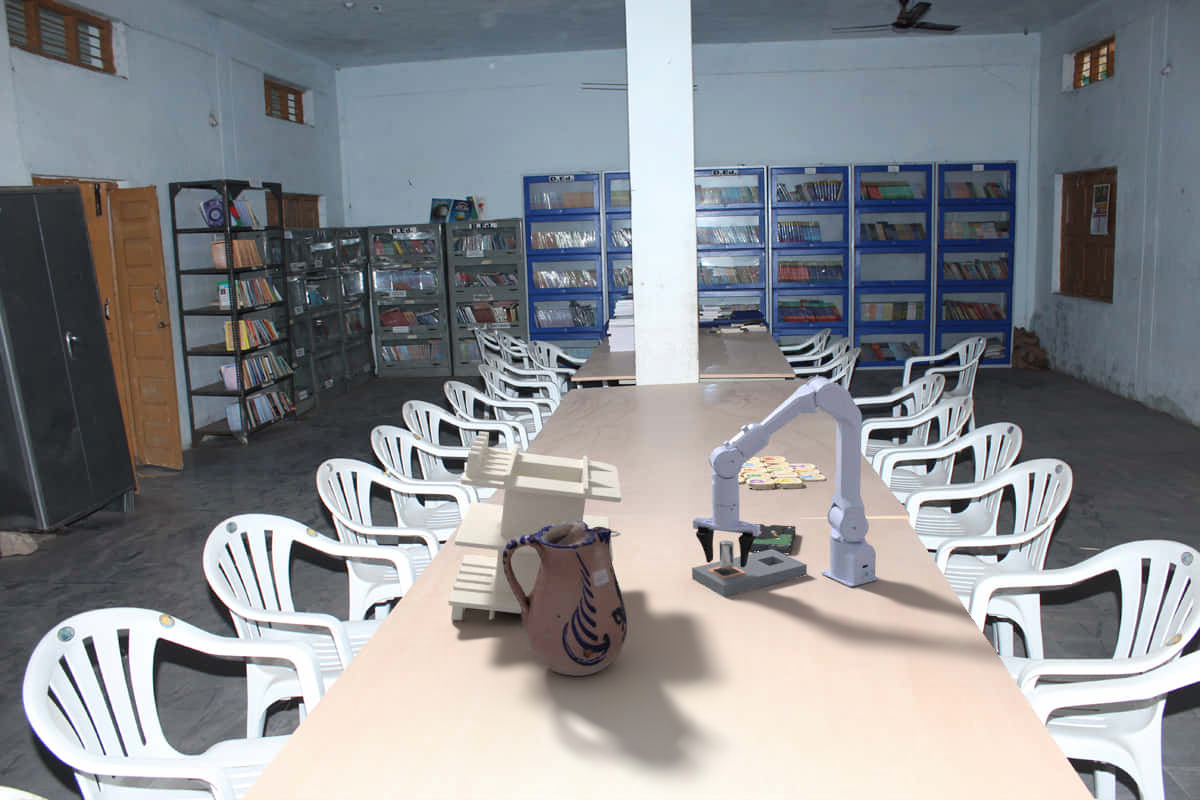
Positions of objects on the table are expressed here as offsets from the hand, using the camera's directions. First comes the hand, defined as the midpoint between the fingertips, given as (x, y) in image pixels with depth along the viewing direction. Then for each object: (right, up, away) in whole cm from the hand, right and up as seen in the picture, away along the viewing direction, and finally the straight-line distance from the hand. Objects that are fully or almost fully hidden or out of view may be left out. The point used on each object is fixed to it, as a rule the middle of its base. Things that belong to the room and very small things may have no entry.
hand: (726, 563), depth 196 cm
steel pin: (0, -4, +1) cm, 4 cm away
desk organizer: (-40, -7, -4) cm, 41 cm away
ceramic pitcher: (-33, -12, -35) cm, 49 cm away
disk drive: (+15, 0, +25) cm, 29 cm away
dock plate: (+5, -4, +4) cm, 7 cm away
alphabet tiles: (+25, +11, +87) cm, 91 cm away
